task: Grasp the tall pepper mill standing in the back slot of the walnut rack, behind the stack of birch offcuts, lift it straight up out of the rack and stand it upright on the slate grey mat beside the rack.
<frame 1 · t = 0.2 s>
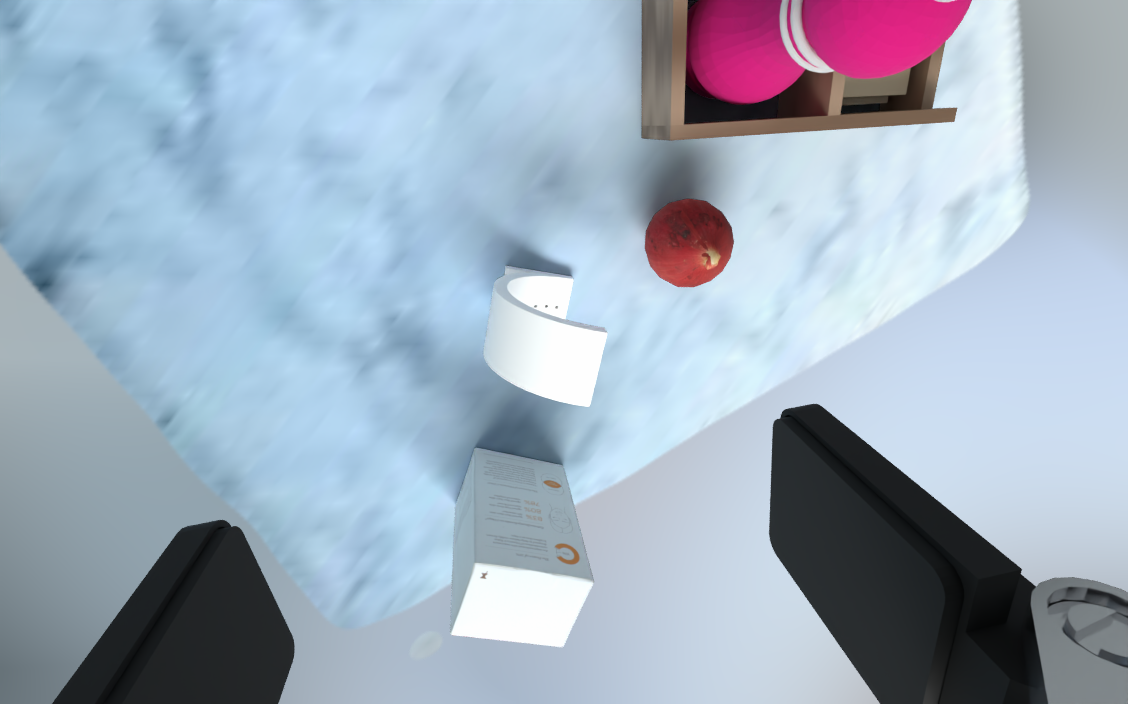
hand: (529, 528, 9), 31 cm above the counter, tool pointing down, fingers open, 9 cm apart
rack: (775, 44, 36), on the counter
pepper mill: (718, 47, 36), on the counter
lower offcut: (837, 42, 37), on the counter, touching upper offcut
onion: (669, 232, 40), on the counter
upper offcut: (860, 38, 35), point 1 cm above the counter, touching lower offcut
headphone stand: (526, 298, 40), on the counter
small box: (509, 483, 47), on the counter
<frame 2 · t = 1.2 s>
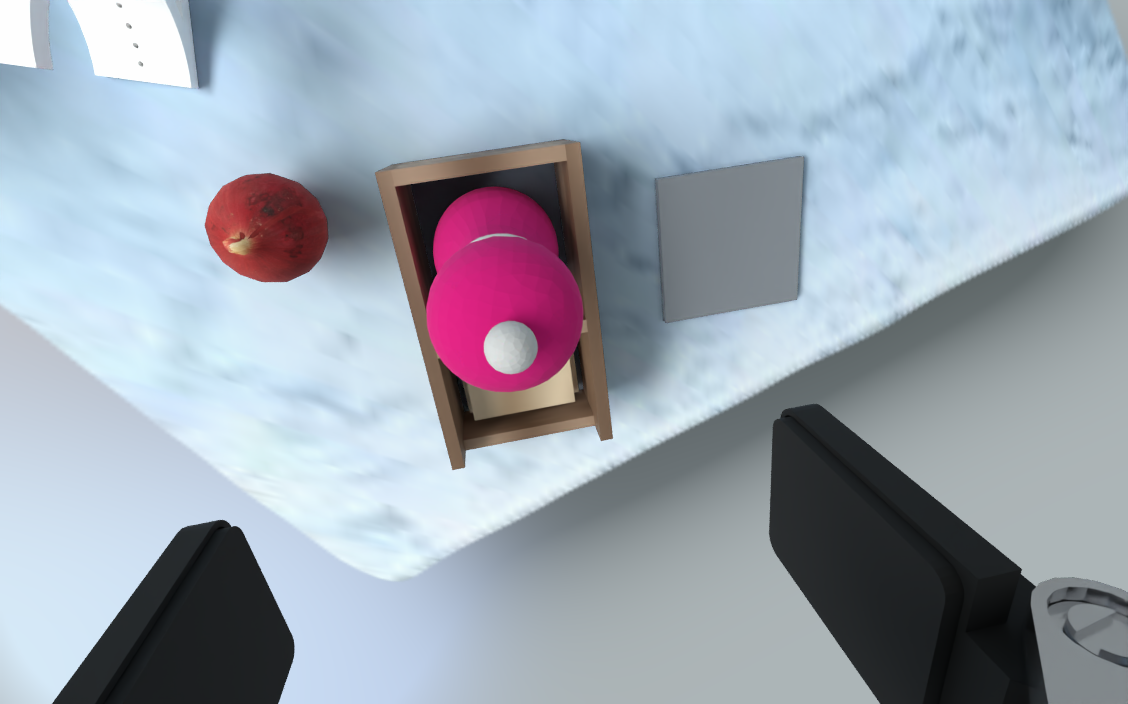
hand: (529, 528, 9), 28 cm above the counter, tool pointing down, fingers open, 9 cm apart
rack: (504, 293, 37), on the counter
mat: (728, 241, 38), on the counter
pepper mill: (494, 236, 35), on the counter
lower offcut: (515, 353, 39), on the counter, touching upper offcut
onion: (292, 217, 33), on the counter
upper offcut: (517, 366, 38), point 1 cm above the counter, touching lower offcut
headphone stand: (145, 20, 28), on the counter
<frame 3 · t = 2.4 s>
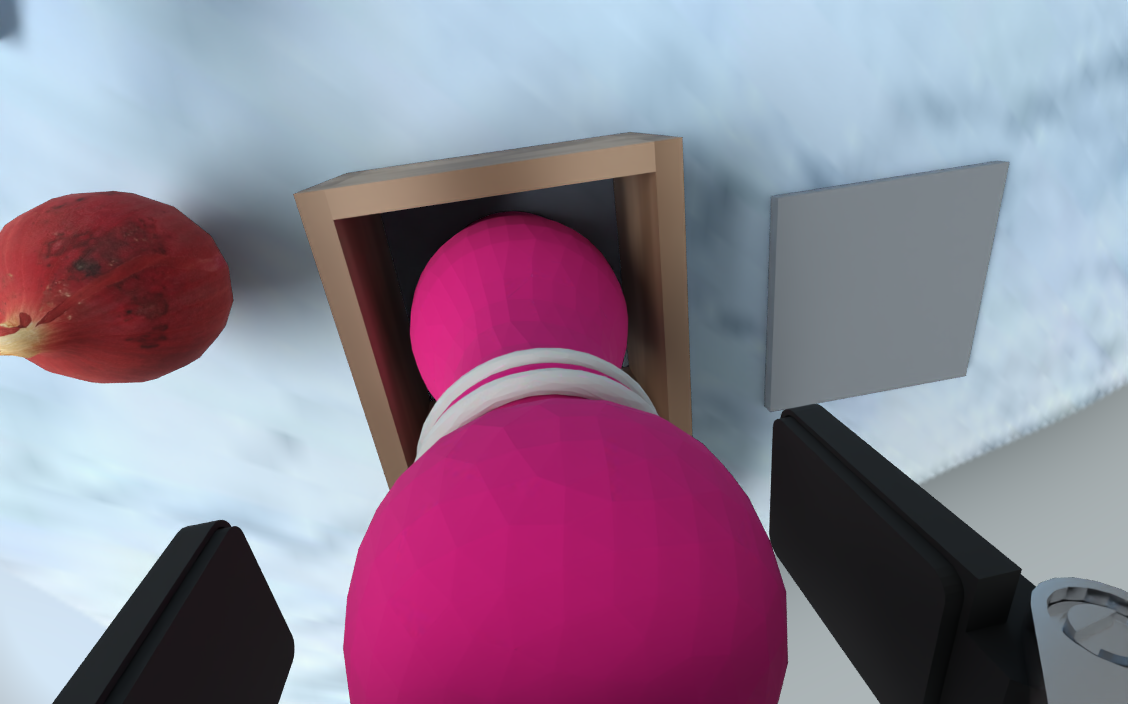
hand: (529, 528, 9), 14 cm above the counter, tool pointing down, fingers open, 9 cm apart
rack: (528, 371, 24), on the counter
mat: (872, 292, 24), on the counter
pepper mill: (514, 286, 22), on the counter
onion: (185, 259, 20), on the counter
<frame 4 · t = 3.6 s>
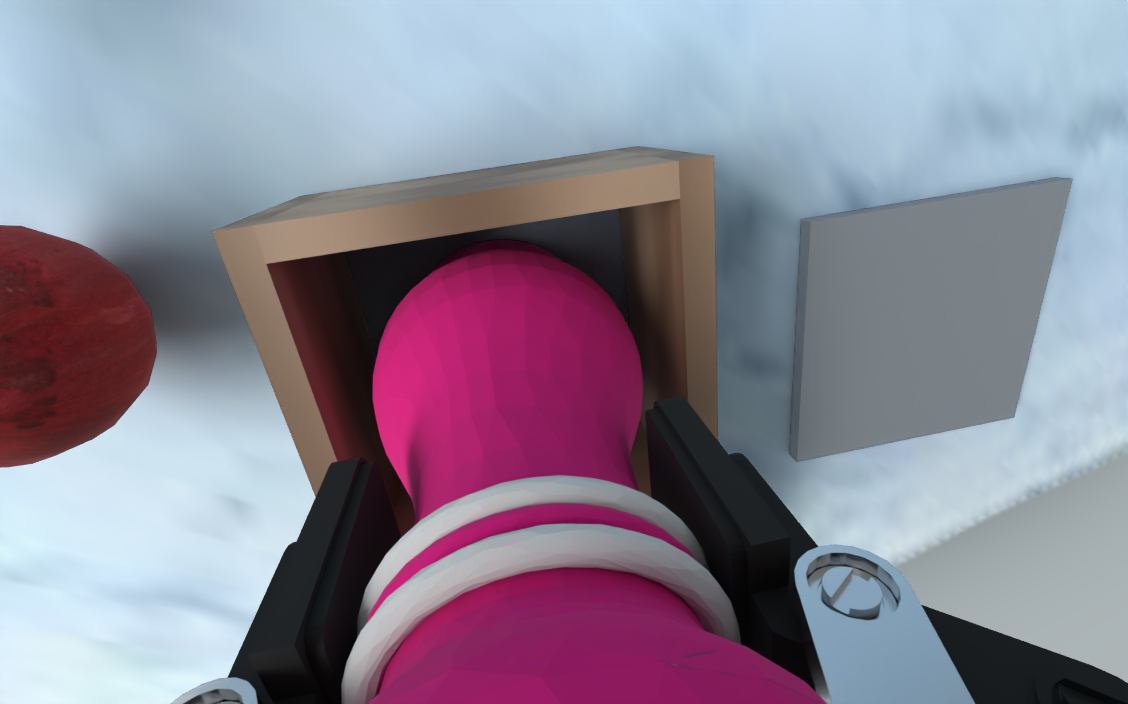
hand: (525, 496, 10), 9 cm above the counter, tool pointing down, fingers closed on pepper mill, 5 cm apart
rack: (521, 422, 20), on the counter
mat: (912, 325, 21), on the counter
pepper mill: (503, 325, 19), on the counter, touching gripper
onion: (106, 299, 17), on the counter
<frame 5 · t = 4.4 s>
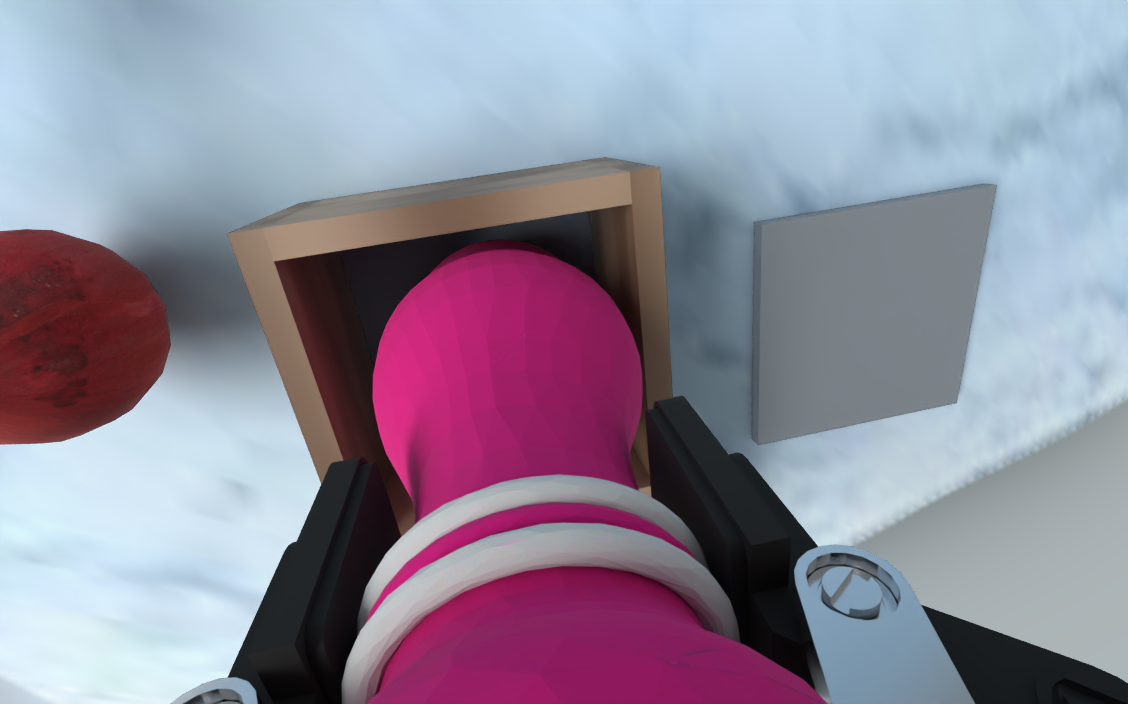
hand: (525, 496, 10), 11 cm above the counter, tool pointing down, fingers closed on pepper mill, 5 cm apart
rack: (502, 409, 22), on the counter
mat: (860, 318, 24), on the counter
pepper mill: (502, 325, 19), point 2 cm above the counter, touching gripper
onion: (121, 297, 18), on the counter
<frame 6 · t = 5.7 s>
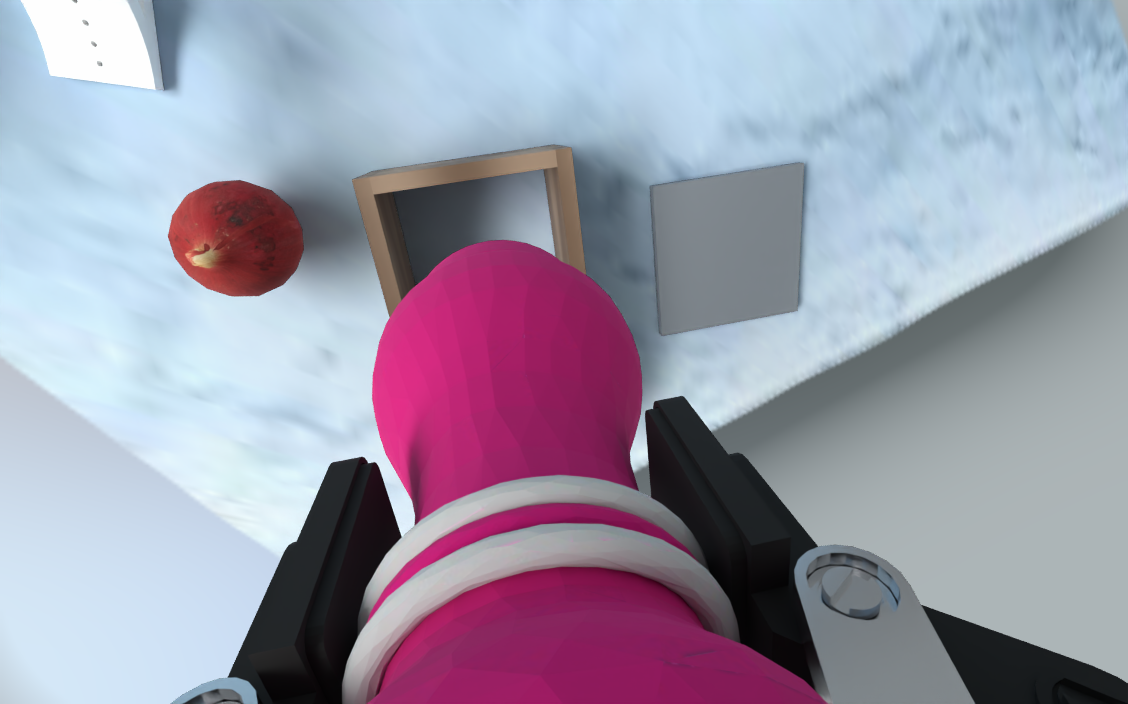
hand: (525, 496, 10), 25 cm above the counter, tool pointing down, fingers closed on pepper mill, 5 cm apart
rack: (493, 306, 35), on the counter
mat: (726, 251, 36), on the counter
pepper mill: (502, 325, 19), point 16 cm above the counter, touching gripper
onion: (266, 227, 31), on the counter
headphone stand: (105, 16, 26), on the counter
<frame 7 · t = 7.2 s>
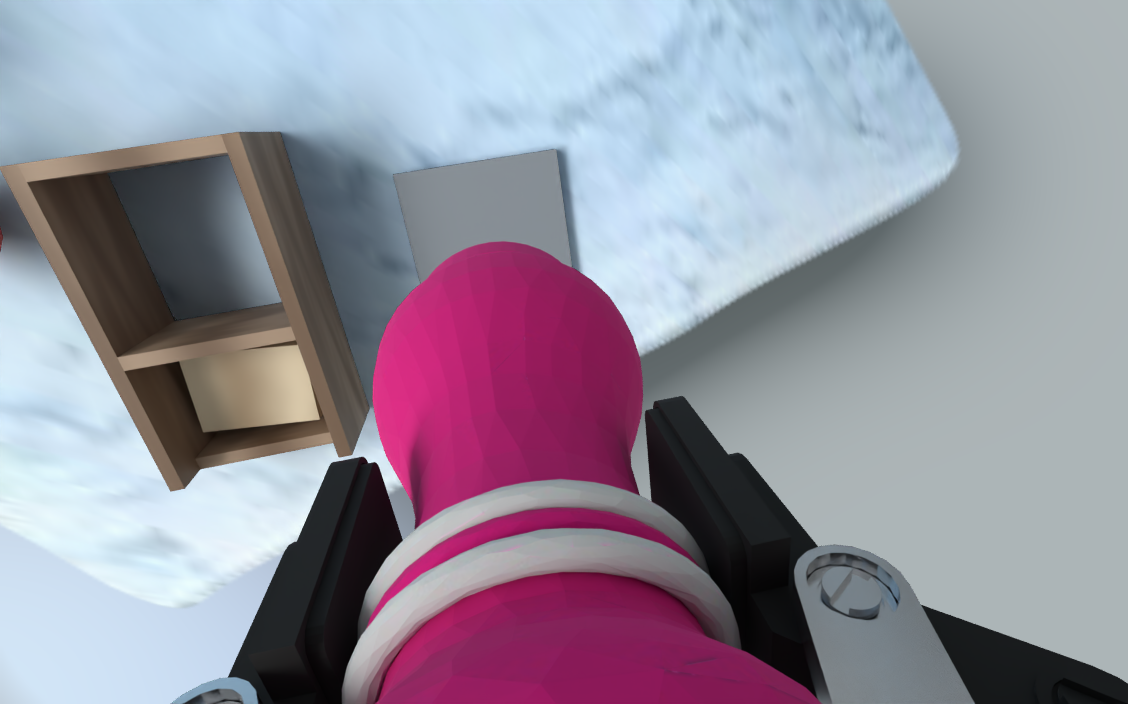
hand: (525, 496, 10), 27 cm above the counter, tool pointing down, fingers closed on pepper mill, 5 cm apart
rack: (244, 299, 34), on the counter
mat: (490, 241, 35), on the counter
pepper mill: (503, 327, 19), point 17 cm above the counter, touching gripper
upper offcut: (262, 377, 35), point 1 cm above the counter, touching lower offcut
when the fingers open (11 cm above the counter, at t = 11.1 s): pepper mill drops 1 cm, resting on mat.
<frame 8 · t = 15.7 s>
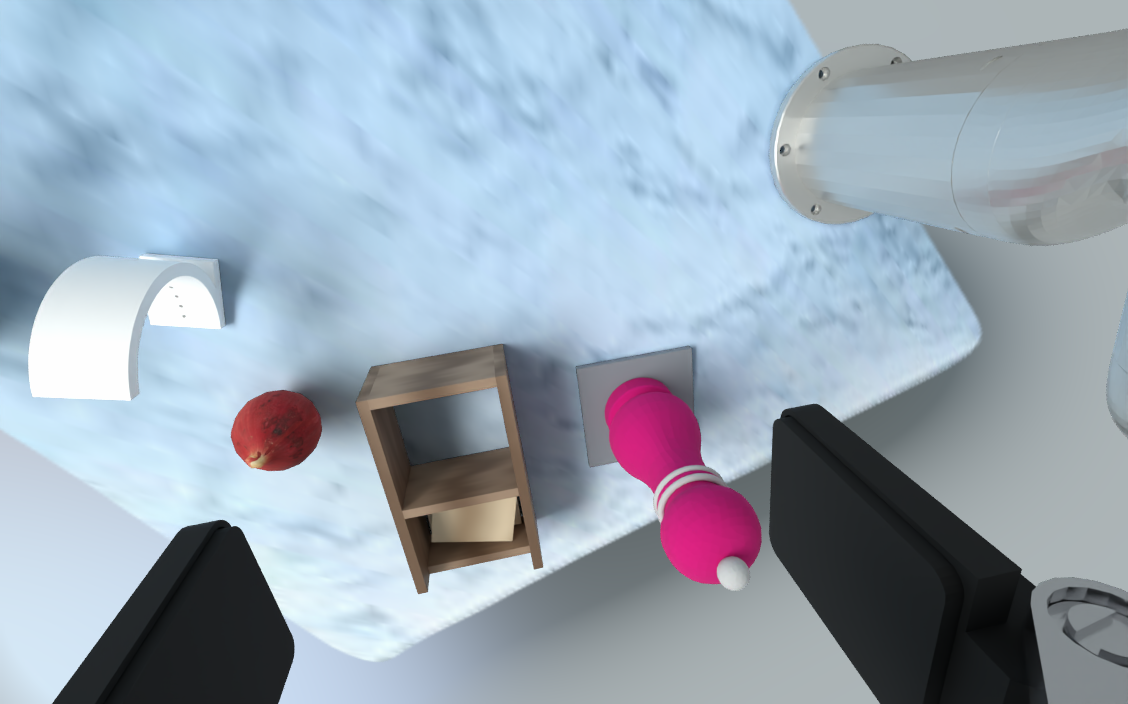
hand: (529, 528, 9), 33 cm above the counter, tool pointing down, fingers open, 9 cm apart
rack: (460, 450, 47), on the counter
mat: (637, 406, 48), on the counter
pepper mill: (638, 407, 48), resting on mat
onion: (294, 405, 43), on the counter
upper offcut: (474, 504, 48), point 1 cm above the counter, touching lower offcut
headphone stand: (187, 282, 39), on the counter
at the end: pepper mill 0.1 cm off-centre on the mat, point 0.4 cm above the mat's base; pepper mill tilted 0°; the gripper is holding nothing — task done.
